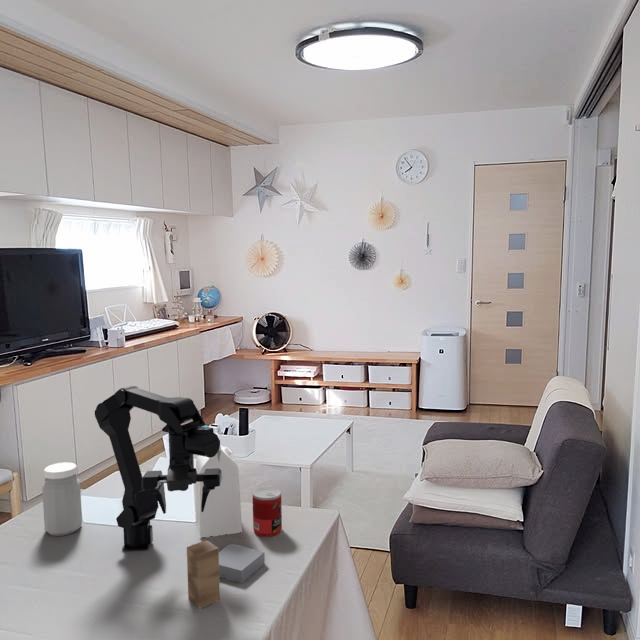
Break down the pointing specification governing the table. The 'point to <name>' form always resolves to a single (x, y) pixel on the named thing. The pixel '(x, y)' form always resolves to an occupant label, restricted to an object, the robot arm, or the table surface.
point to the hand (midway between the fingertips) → (183, 512)
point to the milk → (219, 496)
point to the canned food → (267, 512)
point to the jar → (62, 499)
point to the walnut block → (203, 573)
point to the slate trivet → (239, 562)
